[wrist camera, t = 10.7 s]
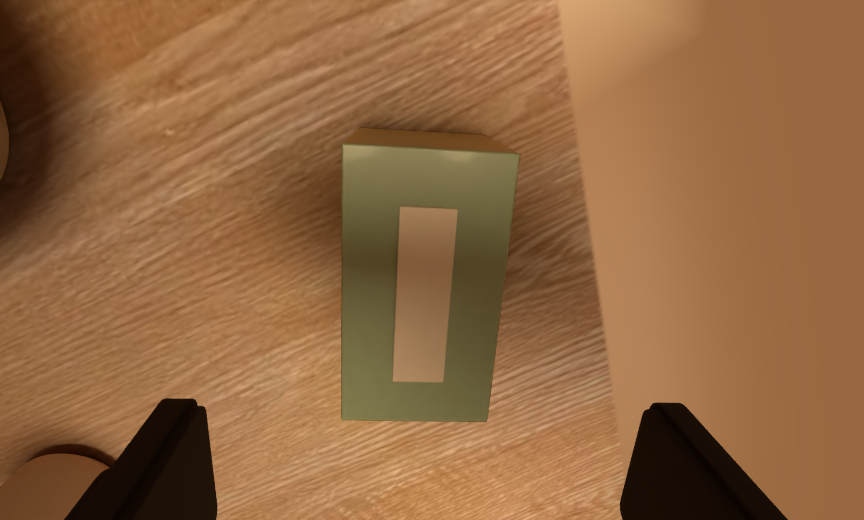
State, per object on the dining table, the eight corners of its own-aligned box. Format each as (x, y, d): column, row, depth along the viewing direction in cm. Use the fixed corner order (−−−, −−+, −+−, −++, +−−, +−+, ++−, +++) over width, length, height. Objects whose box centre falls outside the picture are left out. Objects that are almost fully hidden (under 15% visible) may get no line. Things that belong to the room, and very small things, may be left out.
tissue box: (486, 135, 23) (521, 153, 16) (465, 339, 26) (487, 425, 20) (359, 127, 22) (340, 143, 15) (356, 336, 26) (340, 423, 19)
